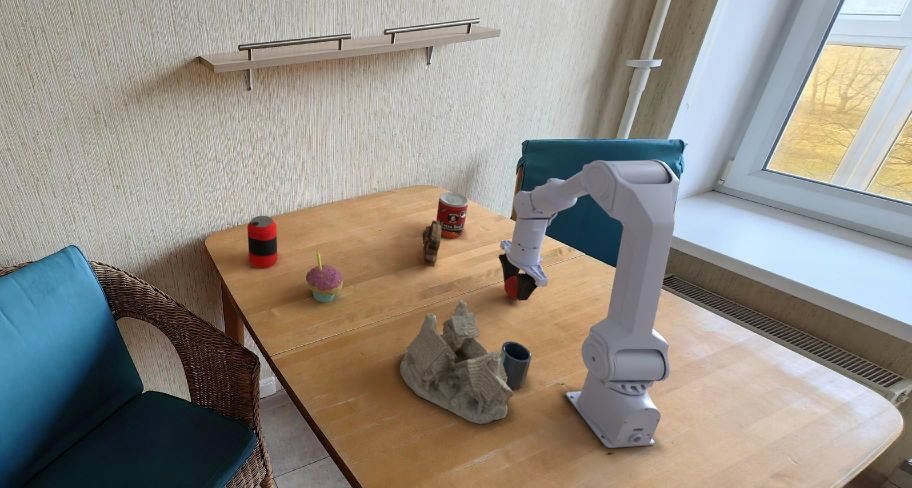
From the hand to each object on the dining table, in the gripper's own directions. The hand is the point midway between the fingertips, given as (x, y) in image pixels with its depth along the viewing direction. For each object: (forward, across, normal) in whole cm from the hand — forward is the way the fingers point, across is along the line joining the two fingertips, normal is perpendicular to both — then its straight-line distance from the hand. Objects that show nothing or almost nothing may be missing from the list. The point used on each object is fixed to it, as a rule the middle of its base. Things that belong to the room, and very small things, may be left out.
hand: (515, 291), depth 98 cm
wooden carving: (+2, +16, +14) cm, 21 cm away
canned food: (+2, +28, +3) cm, 28 cm away
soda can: (+2, +19, +58) cm, 61 cm away
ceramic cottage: (+2, -22, +25) cm, 33 cm away
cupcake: (+2, +4, +44) cm, 44 cm away
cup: (+1, -21, +14) cm, 25 cm away
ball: (-1, 0, 0) cm, 1 cm away
